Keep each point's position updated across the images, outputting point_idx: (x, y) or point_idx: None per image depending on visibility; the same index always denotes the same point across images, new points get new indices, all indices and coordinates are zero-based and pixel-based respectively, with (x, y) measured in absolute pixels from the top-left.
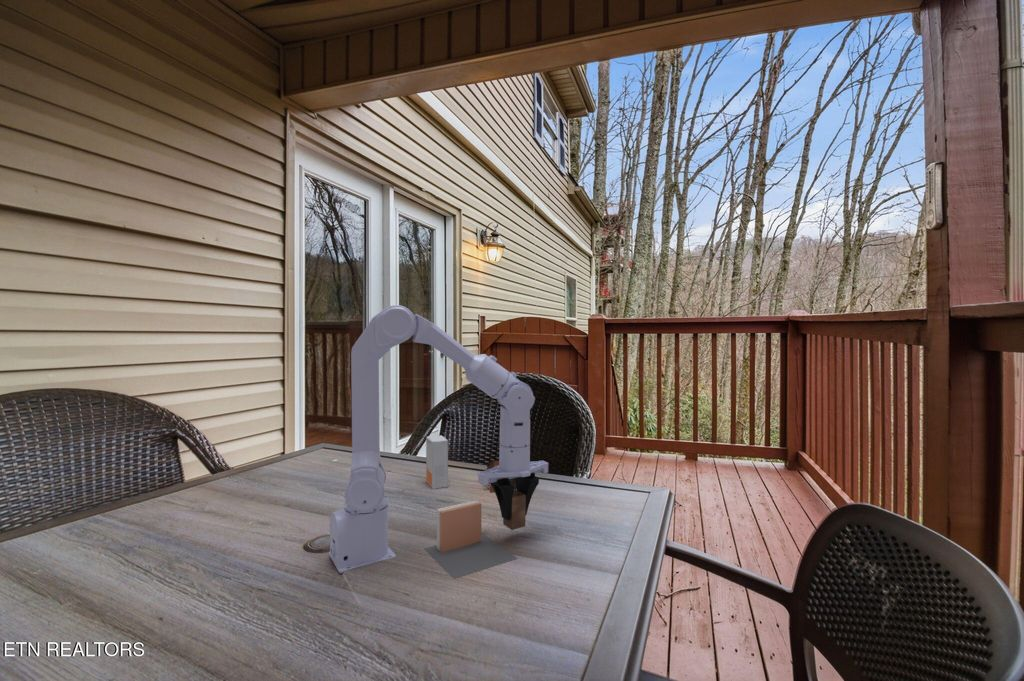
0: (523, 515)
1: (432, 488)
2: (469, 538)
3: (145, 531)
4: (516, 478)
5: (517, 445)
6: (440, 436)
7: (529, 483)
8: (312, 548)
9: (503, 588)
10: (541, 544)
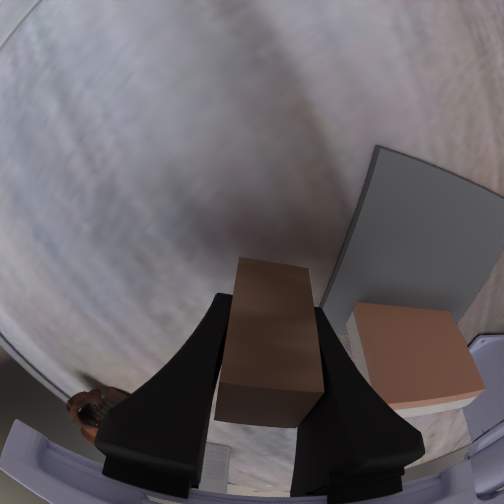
0: (245, 293)
1: (230, 447)
2: (395, 317)
3: (467, 435)
4: (201, 471)
5: None
6: None
7: (200, 447)
8: None
9: (492, 92)
10: (211, 174)
